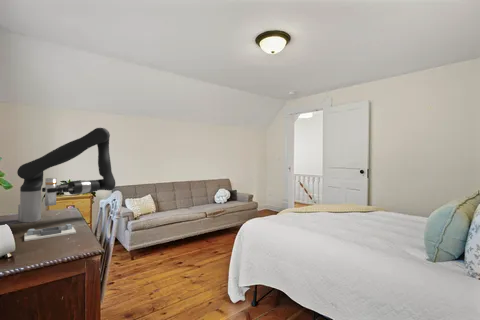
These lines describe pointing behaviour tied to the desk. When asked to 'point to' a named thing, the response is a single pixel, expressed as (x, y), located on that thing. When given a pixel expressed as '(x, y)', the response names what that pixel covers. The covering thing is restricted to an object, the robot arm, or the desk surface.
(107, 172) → the robot arm
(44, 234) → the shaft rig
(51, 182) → the cylinder
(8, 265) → the desk surface
